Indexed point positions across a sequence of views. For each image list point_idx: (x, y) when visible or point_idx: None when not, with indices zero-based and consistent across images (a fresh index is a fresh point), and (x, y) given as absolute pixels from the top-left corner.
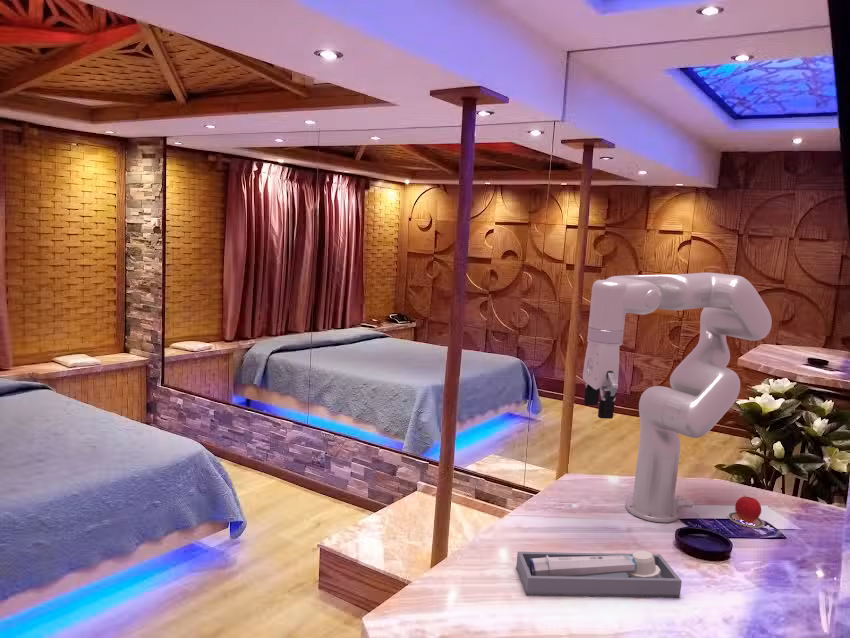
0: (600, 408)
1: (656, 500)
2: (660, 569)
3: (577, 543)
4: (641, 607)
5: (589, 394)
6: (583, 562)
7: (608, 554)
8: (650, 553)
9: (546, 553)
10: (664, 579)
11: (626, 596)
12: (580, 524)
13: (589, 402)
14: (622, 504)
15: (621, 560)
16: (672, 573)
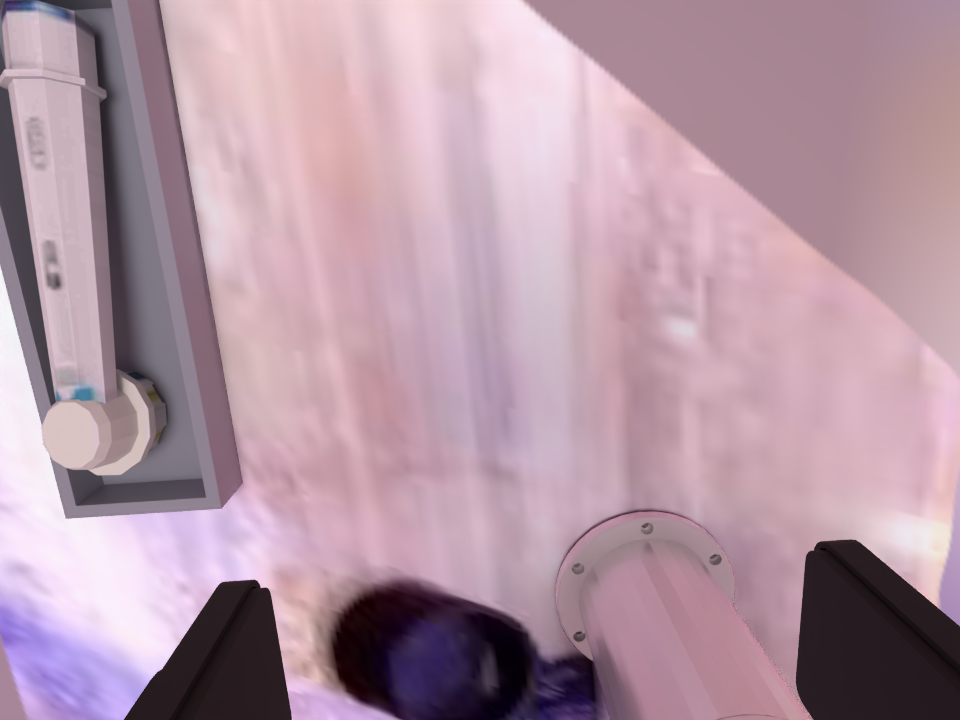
0: (166, 687)
1: (592, 622)
2: (193, 485)
3: (376, 268)
4: (20, 370)
5: (911, 704)
6: (30, 213)
7: (182, 335)
8: (79, 464)
9: (134, 94)
10: (58, 470)
11: None
12: (522, 314)
13: (822, 617)
14: (694, 508)
15: (51, 354)
16: (103, 506)
